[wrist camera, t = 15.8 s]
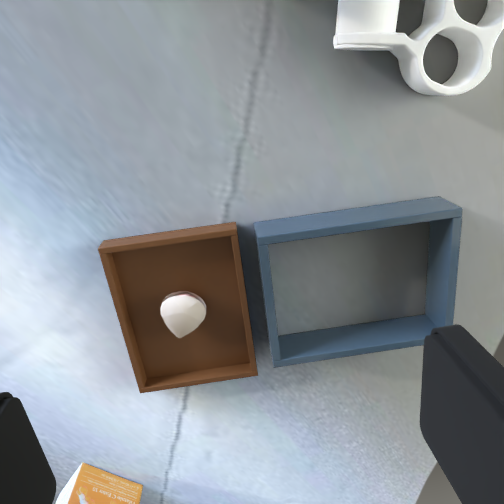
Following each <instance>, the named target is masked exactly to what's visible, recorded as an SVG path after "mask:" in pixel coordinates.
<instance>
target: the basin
mask: <svg viewBox="0 0 504 504" xmlns="http://www.w3.org/2000/svg"><path fill="white" fill-rule="evenodd" d="M462 210H463V209H462V208H461V207H459V206H457V205H455V204H453V203H451V202H449V201H447V200H445V199H443V198H441V197H439V196H438V197H431V198H424V199H417V200H410V201H403V202H396V203H389V204H381V205H374V206H367V207H360V208H353V209H346V210H339V211H332V212H325V213H318V214H311V215H304V216H297V217H289V218H282V219H275V220H268V221H261V222H254V230H255V239H256V247H257V255H258V263H259V271H260V278H261V286H262V294H263V302H264V310H265V318H266V326H267V334H268V342H269V347H270V352H271V357H272V362H273V367H274V368H275V367H281V366H288V365H294V364H301V363H308V362H314V361H321V360H328V359H334V358H341V357H348V356H354V355H361V354H367V353H374V352H381V351H387V350H394V349H401V348H407V347H414V346H421V345H424V339H425V337H426V336H427V335H431V331H432V329H433V328H437V327H443V326H450V325H453V318H454V306H455V294H456V283H457V271H458V259H459V248H460V236H461V224H462ZM428 221H430V230H429V249H428V267H427V286H426V305H425V314H423V315H416V316H410V317H403V318H396V319H390V320H383V321H376V322H369V323H363V324H356V325H349V326H343V327H336V328H329V329H322V330H316V331H309V332H302V333H296V334H289V335H282V336H278V330H277V322H276V313H275V304H274V295H273V287H272V278H271V269H270V261H269V252H268V244H274V243H281V242H288V241H295V240H302V239H309V238H316V237H323V236H330V235H337V234H344V233H351V232H358V231H365V230H372V229H379V228H386V227H393V226H400V225H407V224H414V223H421V222H428Z"/></svg>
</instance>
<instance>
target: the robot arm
mask: <svg viewBox="0 0 504 504" xmlns="http://www.w3.org/2000/svg"><path fill="white" fill-rule="evenodd" d="M420 428H421V431H422V434H423V437H424V439H425V441H426V442H427V444H428V446H429V448H430V449H431V451H432V453H433V454H434V456H435V458H436V460H437V461H438V463H439V465H440V466H441V468H442V470H443V471H444V473H445V475H446V477H447V478H448V480H449V482H450V483H451V485H452V487H453V489H454V490H455V492H456V494H457V496H458V497H459V499H460V501H461V502H462V504H504V367H503V366H502V365H501V364H500V363H499V362H498V361H497V360H496V359H495V358H494V357H493V356H492V355H491V354H490V353H489V352H488V351H487V350H486V349H485V348H484V347H483V346H482V345H481V344H480V343H479V342H478V341H477V340H476V339H475V338H474V337H473V336H472V335H471V334H470V333H469V332H468V331H467V330H466V329H464V328H463V327H462V326H461V325H450V326H443V327H437V328H433V329H432V331H431V335H427V336H426V337H425V339H424V353H423V371H422V390H421V409H420ZM55 493H56V480H55V477H54V475H53V473H52V470H51V468H50V466H49V464H48V461H47V459H46V457H45V455H44V452H43V450H42V448H41V446H40V443H39V441H38V439H37V437H36V434H35V432H34V430H33V428H32V425H31V423H30V421H29V419H28V416H27V414H26V412H25V410H24V407H23V405H22V403H21V401H20V399H18V398H16V397H13V396H12V394H10V393H9V392H3V393H0V504H52V502H53V500H54V497H55Z"/></svg>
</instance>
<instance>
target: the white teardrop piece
mask: <svg viewBox="0 0 504 504" xmlns="http://www.w3.org/2000/svg"><path fill="white" fill-rule="evenodd" d="M160 310H161V316H162V318H163V320H164V322H165V324H166V326H167V327H168V328H169V329H170V331H171V332H172V333H173V334H175V336H176V337H178V338H182V337H184V336H185V335H187V334H189V333H190V332H192V331H194V330H195V329H196V328H197V327H198V326H199V325H200V323H201V322H202V321H203V320H204V318H205V316H206V305H205V303H204V301H203V299H202V298H200V297H199V296H198V295H196V294H194V293H191V292H188V291H178V292H174V293H171V294H169V295H167V296H166V297H165V299H164V300H163V301H162V304H161V308H160Z"/></svg>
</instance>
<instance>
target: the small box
mask: <svg viewBox="0 0 504 504" xmlns="http://www.w3.org/2000/svg"><path fill="white" fill-rule="evenodd" d="M142 489H143V485H141V484H138V483H135V482H132V481H129V480H127V479H124V478H121V477H119V476H116V475H114V474H111V473H108V472H106V471H103V470H101V469H98V468H96V467H93V466H91V465H89V464H87V463H84V462H82V463H81V465H80V466H79V468H78V469H77V470H76V472H75V473H74V475H73V476H72V477H71V479H70V480H69V482H68V483H67V485H66V486H65V487H64V489H63V490H62V492H61V493H60V494H59V497H58V499H57V501H56V504H140V499H141V494H142Z"/></svg>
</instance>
